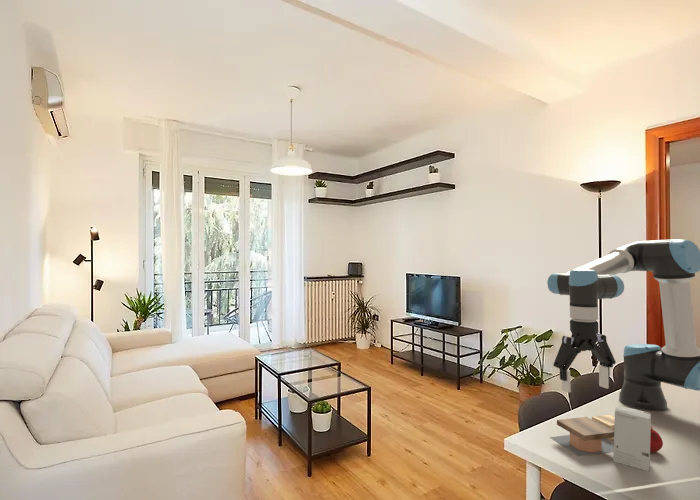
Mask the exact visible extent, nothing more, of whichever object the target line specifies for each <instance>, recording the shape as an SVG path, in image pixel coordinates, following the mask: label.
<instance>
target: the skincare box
mask: <svg viewBox="0 0 700 500" xmlns="http://www.w3.org/2000/svg"><path fill="white" fill-rule="evenodd" d="M614 417H615V421H614V439H613V444H614V452H613V454H612V455H613V460H612V461H613V462H614V463H620V464H623V465H626V466H630V467H634V468H636V469H640V470H644V471H646V472H649V471H650V463H651V462H650V461H651V460H650V459H651V452H650V434H651V426H652V423H651V422H652V413H650V412H647V411H642V410H641V409H640V410H639V409H637V408H636V409H635V408H633V407H632V408H631V407H626V406H622V405H616V406H615V409H614Z"/></svg>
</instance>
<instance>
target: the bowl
mask: <svg viewBox="0 0 700 500" xmlns="http://www.w3.org/2000/svg"><path fill="white" fill-rule="evenodd" d="M569 435H570V445H572V446H574V447H575V448H577V449H578V450H583V451H587V452H591V453H593V452H601V451H602V439H595V440H587V441H584V440H582V439H581V438H579V437H577V436H575V435H574V434H572V433H570V432H569Z"/></svg>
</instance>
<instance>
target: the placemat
mask: <svg viewBox="0 0 700 500" xmlns="http://www.w3.org/2000/svg"><path fill="white" fill-rule="evenodd" d="M549 439H551V440H553V441H554V442H556V443H558V444H559V445H561V446H562V447H564V448H565V449H567V450H568V451H570V452H571V453H573V454H575V455H576V456H578V457H584V456H593V455H600V454H608V453H614V443H612V442H611V441H610V440H608V439H606V438H604V439H602V451H601V452H593V453H591V452H587V451H583V450H578V449H577V448H575V447H574V446H572V445H570V434H566V435H557V436H550V437H549Z"/></svg>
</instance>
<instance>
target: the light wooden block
mask: <svg viewBox="0 0 700 500" xmlns="http://www.w3.org/2000/svg"><path fill="white" fill-rule="evenodd" d="M591 419H592V420H594V421H596V422H598V423H600V424H602V425H604V426H606V427H608V428H610V429H612V430H614V421H615V416H613V415H611V414H604V415H595V416H591ZM608 439H609V441H611V440H613V441H614V437H612V438H607V440H608Z"/></svg>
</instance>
